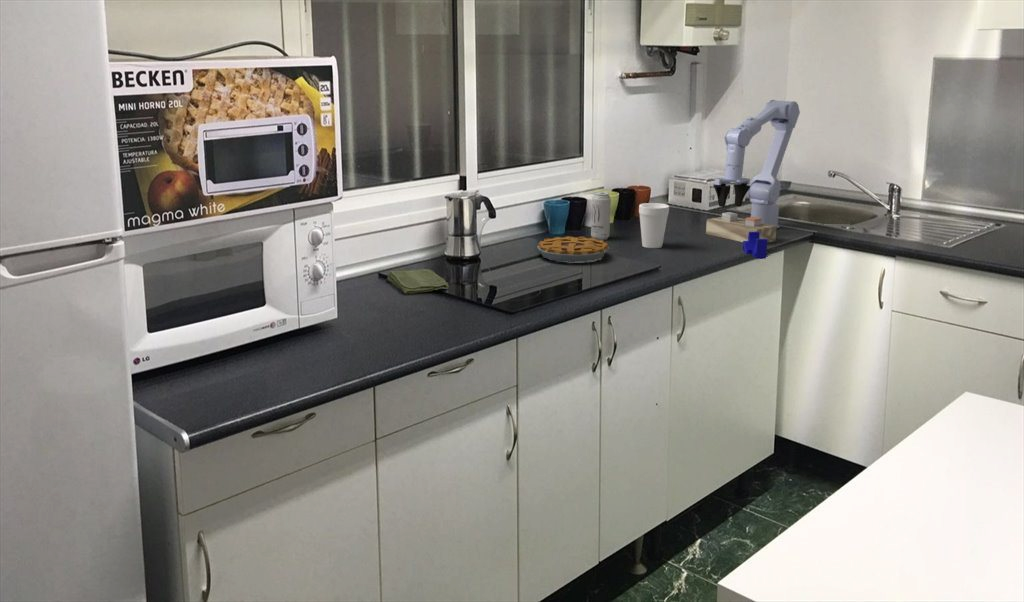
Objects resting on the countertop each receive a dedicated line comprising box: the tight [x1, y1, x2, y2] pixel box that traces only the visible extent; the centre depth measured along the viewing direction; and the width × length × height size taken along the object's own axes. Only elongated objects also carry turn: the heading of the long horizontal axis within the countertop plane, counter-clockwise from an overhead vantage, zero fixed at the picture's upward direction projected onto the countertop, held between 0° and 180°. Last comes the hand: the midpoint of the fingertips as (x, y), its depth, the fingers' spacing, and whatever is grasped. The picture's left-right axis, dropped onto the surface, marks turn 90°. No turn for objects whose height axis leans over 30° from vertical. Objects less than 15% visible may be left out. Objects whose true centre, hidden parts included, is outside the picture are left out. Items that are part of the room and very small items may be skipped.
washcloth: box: [386, 268, 449, 295], centre depth 266 cm, size 13×18×3 cm
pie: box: [536, 235, 610, 262], centre depth 299 cm, size 22×22×5 cm
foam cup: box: [638, 202, 670, 249], centre depth 312 cm, size 10×9×13 cm
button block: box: [705, 216, 777, 244], centre depth 327 cm, size 10×21×5 cm, turn 37°
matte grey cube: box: [721, 211, 738, 222], centre depth 330 cm, size 4×4×5 cm
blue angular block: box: [742, 232, 768, 260], centre depth 304 cm, size 12×4×6 cm, turn 179°
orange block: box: [745, 216, 762, 227], centre depth 322 cm, size 4×4×5 cm
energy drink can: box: [590, 191, 611, 241], centre depth 322 cm, size 6×6×15 cm
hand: (729, 206), depth 329 cm, fingers open, 7 cm apart
